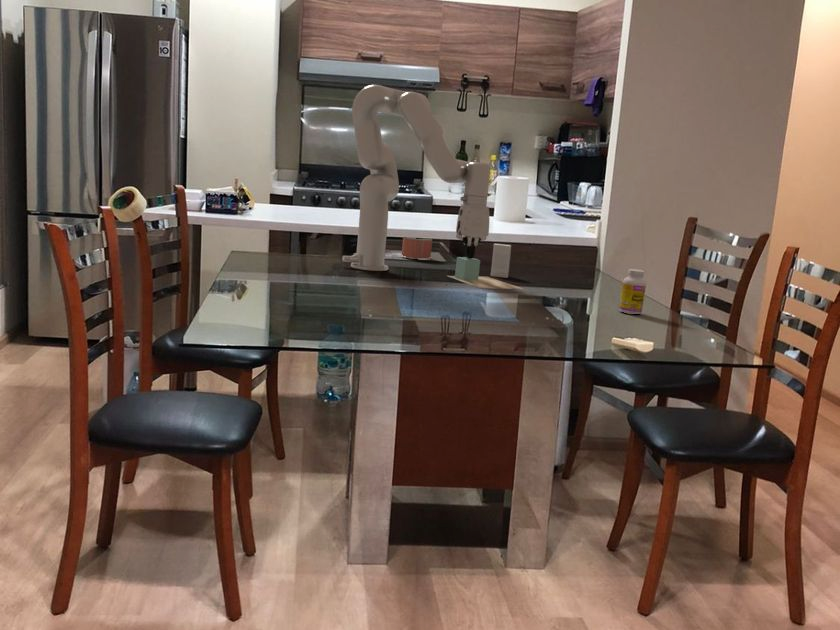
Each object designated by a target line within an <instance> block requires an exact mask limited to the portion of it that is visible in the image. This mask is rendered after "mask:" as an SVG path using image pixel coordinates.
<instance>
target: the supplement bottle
mask: <svg viewBox="0 0 840 630" xmlns="http://www.w3.org/2000/svg"><path fill="white" fill-rule="evenodd" d="M645 272H646V271H644V270H642V269H637V268H636V269H635V268H629V269H628V270H627V277H624V278H623V281H622V286H621V293H620V300H619V308H618V311H619V312H620V311H621V312H624V313H629V314H640V315H642V311H643V306H644V301H645V295H646V287H647V282H646V280H645V279H644V275H645ZM621 312H620V313H621ZM624 313H623V314H624ZM629 314H628V315H629Z"/></svg>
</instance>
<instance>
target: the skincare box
mask: <svg viewBox="0 0 840 630" xmlns="http://www.w3.org/2000/svg"><path fill="white" fill-rule="evenodd" d="M492 248H493V250H492V260H491V269H490V276H491V277H495V278H496V277H498V278H509V273H510V262H511V253H512V251H511V250H512V244H504V243H503V244H502V243H493V247H492Z"/></svg>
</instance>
